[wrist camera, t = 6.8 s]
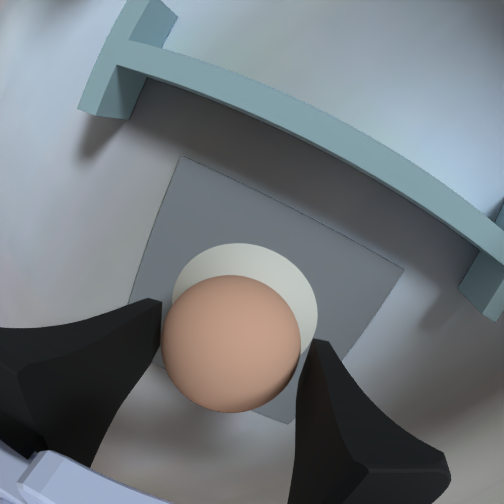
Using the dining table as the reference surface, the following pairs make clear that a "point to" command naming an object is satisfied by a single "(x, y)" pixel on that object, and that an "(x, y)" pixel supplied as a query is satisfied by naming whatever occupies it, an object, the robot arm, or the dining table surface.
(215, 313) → the ball
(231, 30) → the dining table surface
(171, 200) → the resting mat
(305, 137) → the divider wall
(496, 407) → the dining table surface
